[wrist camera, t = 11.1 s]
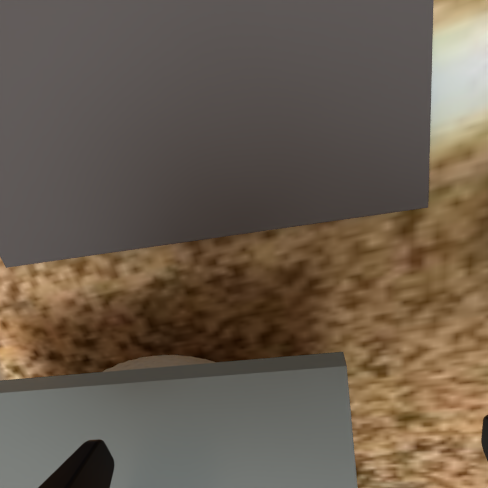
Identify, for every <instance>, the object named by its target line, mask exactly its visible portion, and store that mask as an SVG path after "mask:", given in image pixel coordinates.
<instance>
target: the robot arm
mask: <svg viewBox="0 0 488 488" xmlns="http://www.w3.org/2000/svg"><path fill="white" fill-rule="evenodd" d="M481 442H482V447H483V451H484V453H485V456H486V458H487V460H488V415H486V416H485V417H484V419H483V428H482V439H481ZM113 472H114V459H113V457H112V455H111V453H110V451H109V449H108V447H107V446H106V444H105V442H104V441H103V440H101V439H98V440H88V441H86V442H84V443H83V444H82V445H81V446H80V447H79V448H78V449H77V450H76V451H75V452H74V453H73V454H72V455H71V456H70V457H69V458H68V459H67V460H66V461H65V462H64V463H63V464H62V465H61V466H60V467H59V468H58V469H57V470H55V471H54V472H53V473H52V474H51V475H50V476H49V477H48V478H47V479H46V480H45V481H44V482H43V483H42V484H41V485H40V486H39V487H38V488H110V485H111V481H112V476H113Z"/></svg>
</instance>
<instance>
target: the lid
mask: <svg viewBox="0 0 488 488" xmlns="http://www.w3.org/2000/svg"><path fill="white" fill-rule="evenodd" d="M98 439H101V440H103V441H104V442H105V444H106V446H107V447H108V449H109V451H110V453H111V455H112V457H113V459H114V472H113V476H112V481H111V485H110V488H357V477H356V466H355V455H354V444H353V433H352V421H351V410H350V399H349V388H348V377H347V366H346V362H345V358H344V354H343V352H335V353H323V354H311V355H299V356H288V357H276V358H264V359H252V360H240V361H228V362H216V363H204V364H192V365H180V366H168V367H157V368H145V369H133V370H121V371H109V372H97V373H85V374H73V375H61V376H49V377H38V378H26V379H14V380H2V381H0V488H38V487H39V486H40V485H41V484H42V483H43V482H44V481H45V480H46V479H47V478H48V477H49V476H50V475H51V474H52V473H53V472H54V471H55V470H57V469H58V468H59V467H60V466H61V465H62V464H63V463H64V462H65V461H66V460H67V459H68V458H69V457H70V456H71V455H72V454H73V453H74V452H75V451H76V450H77V449H78V448H79V447H80V446H81V445H82V444H83V443H84V442H86V441H88V440H98Z"/></svg>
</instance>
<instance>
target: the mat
mask: <svg viewBox="0 0 488 488" xmlns="http://www.w3.org/2000/svg"><path fill="white" fill-rule="evenodd" d="M432 34H433V0H0V257H1V259H2V261H3V263H4V265H5V266H6V267H13V266H20V265H27V264H34V263H41V262H48V261H55V260H62V259H69V258H76V257H83V256H90V255H97V254H105V253H112V252H119V251H126V250H133V249H140V248H147V247H154V246H161V245H168V244H175V243H182V242H189V241H196V240H203V239H210V238H217V237H224V236H231V235H238V234H245V233H252V232H259V231H266V230H273V229H280V228H287V227H294V226H301V225H308V224H315V223H322V222H329V221H336V220H343V219H350V218H357V217H364V216H371V215H378V214H385V213H392V212H399V211H406V210H413V209H420V208H427V207H428V193H429V154H430V114H431V74H432Z"/></svg>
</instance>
